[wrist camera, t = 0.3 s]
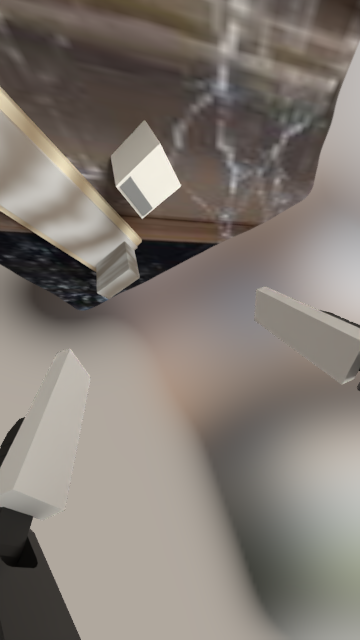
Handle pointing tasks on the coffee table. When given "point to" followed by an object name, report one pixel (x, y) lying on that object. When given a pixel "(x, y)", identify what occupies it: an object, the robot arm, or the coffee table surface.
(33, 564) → the robot arm
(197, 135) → the coffee table surface
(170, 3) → the coffee table surface
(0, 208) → the board
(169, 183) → the block
